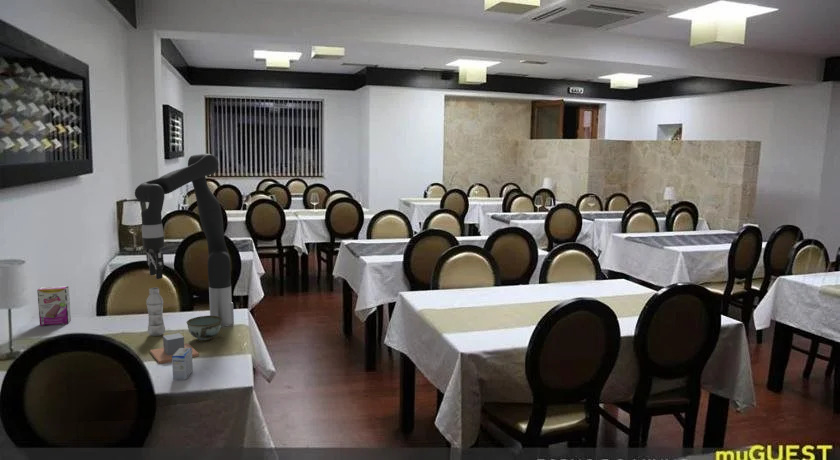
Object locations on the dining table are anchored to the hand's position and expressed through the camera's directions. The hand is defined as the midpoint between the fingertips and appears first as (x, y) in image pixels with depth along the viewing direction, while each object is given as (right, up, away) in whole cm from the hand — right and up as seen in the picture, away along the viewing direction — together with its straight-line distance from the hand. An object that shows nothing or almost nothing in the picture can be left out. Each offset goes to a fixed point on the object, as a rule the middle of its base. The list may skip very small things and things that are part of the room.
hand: (156, 276), depth 226 cm
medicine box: (+21, -33, -25) cm, 46 cm away
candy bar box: (-58, -23, +30) cm, 70 cm away
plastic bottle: (-7, -26, +16) cm, 32 cm away
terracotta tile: (+9, -29, -5) cm, 31 cm away
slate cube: (+9, -28, -5) cm, 30 cm away
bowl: (+14, -27, +13) cm, 33 cm away
